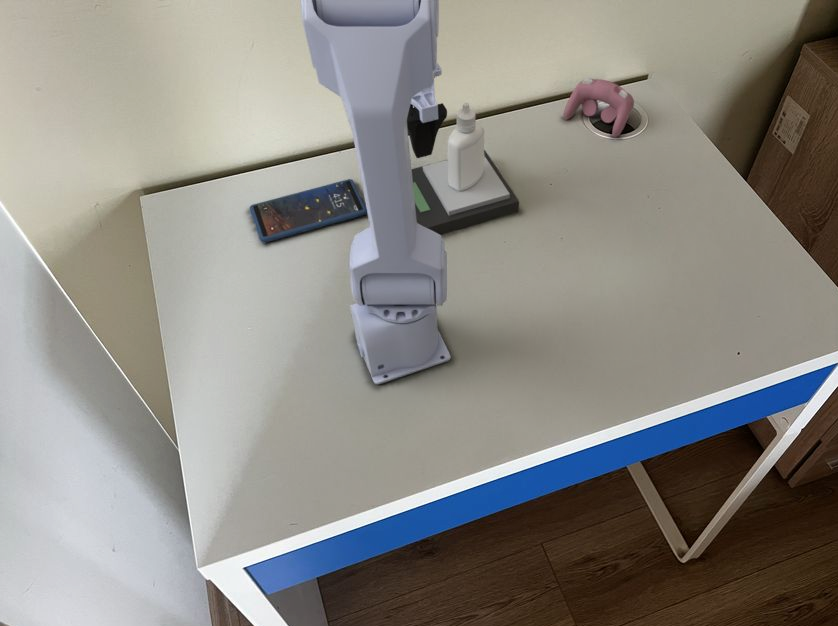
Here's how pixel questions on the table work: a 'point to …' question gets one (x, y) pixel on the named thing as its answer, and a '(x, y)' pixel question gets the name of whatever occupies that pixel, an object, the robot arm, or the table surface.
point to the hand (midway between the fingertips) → (413, 137)
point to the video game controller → (604, 92)
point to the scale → (460, 198)
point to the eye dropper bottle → (465, 151)
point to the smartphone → (307, 210)
